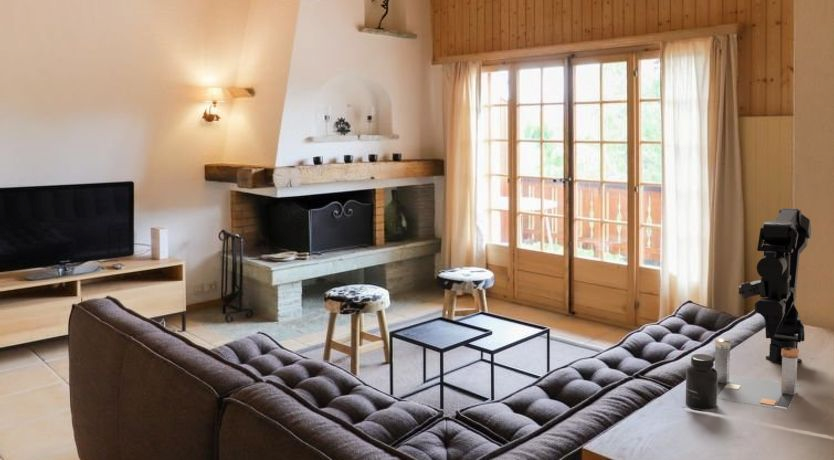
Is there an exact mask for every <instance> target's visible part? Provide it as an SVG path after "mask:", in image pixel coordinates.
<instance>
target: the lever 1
mask: <svg viewBox="0 0 834 460" xmlns="http://www.w3.org/2000/svg"><path fill="white" fill-rule="evenodd" d="M731 343H732V342H731V340H730V339H729V338H724V337H722V338H721V337H719V338H715V339H714V347H715V348H714V349H715V351H714V369H715V370H716V371H717V373H718V383H724V384H727V383H728V381H729V374H730V371H731V370H730V366H731V365H730V360H731V357H730V356H731V348H732V346H731Z"/></svg>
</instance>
